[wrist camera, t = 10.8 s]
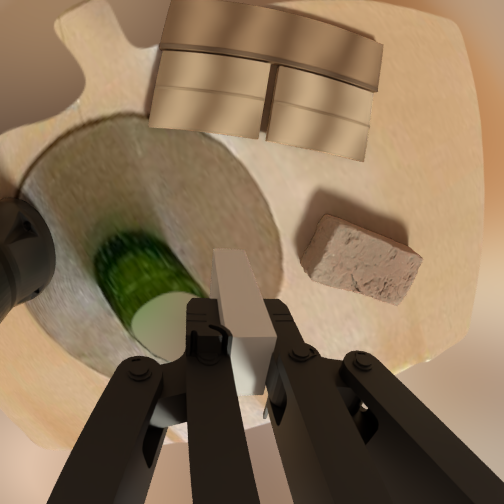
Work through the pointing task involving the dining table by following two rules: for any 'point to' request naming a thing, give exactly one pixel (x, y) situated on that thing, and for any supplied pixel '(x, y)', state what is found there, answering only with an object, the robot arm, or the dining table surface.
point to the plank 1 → (209, 94)
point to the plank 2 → (319, 114)
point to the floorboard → (272, 40)
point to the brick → (360, 261)
